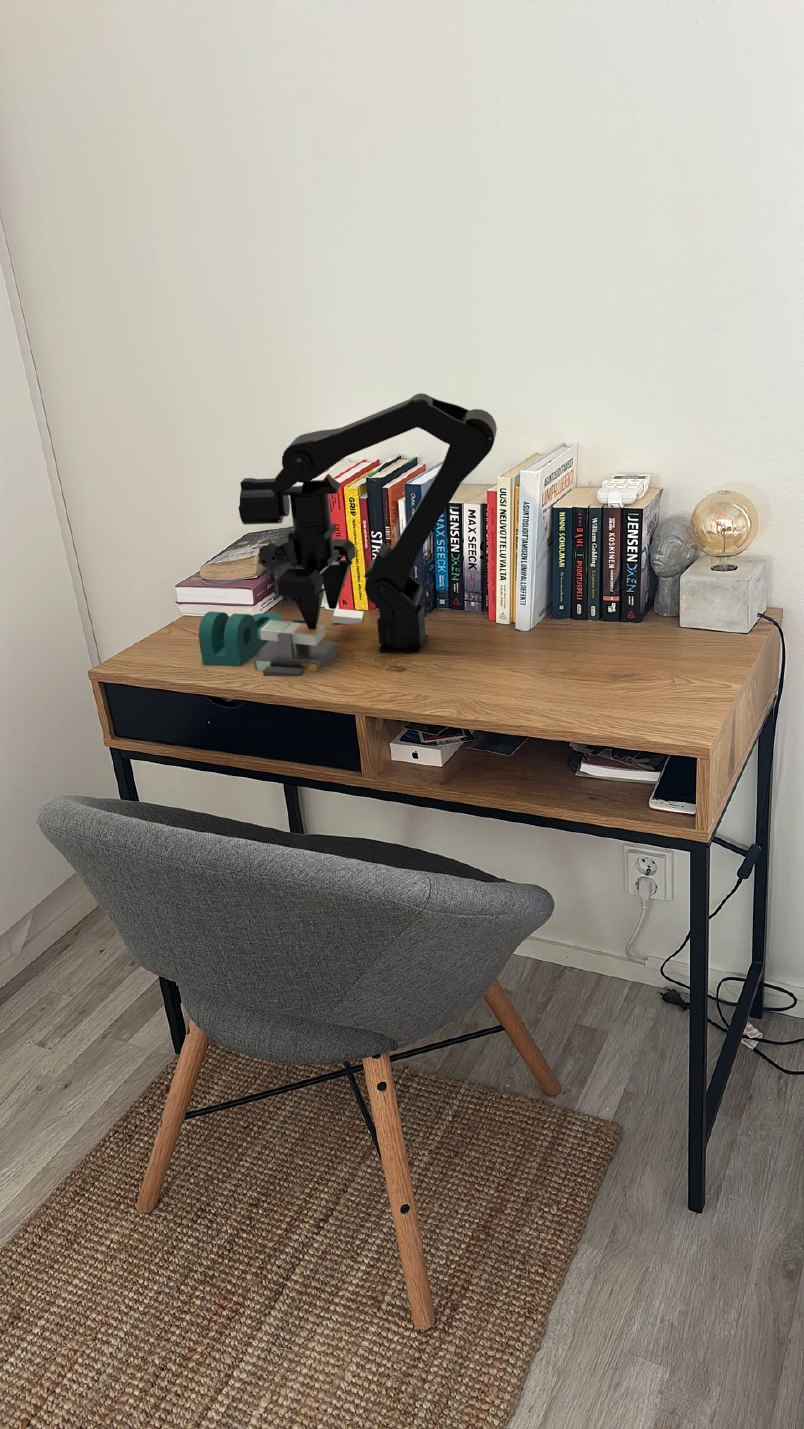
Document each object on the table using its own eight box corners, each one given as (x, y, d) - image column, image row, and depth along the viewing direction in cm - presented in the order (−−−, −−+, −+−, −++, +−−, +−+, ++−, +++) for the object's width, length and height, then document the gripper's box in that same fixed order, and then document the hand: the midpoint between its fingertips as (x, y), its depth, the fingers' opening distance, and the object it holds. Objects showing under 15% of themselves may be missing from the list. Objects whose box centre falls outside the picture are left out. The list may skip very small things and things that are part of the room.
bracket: (241, 670, 181) (234, 624, 177) (203, 667, 183) (195, 621, 179) (290, 626, 196) (285, 583, 192) (255, 623, 198) (249, 580, 194)
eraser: (362, 618, 193) (363, 611, 196) (333, 615, 193) (335, 608, 196) (361, 625, 193) (363, 618, 196) (332, 622, 193) (334, 615, 196)
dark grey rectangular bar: (305, 679, 176) (303, 668, 175) (300, 684, 174) (299, 673, 173) (268, 676, 177) (267, 666, 177) (264, 681, 176) (262, 671, 175)
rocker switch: (326, 634, 178) (325, 624, 178) (314, 646, 174) (314, 636, 174) (272, 628, 181) (271, 618, 180) (259, 640, 177) (259, 629, 176)
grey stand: (337, 659, 181) (333, 619, 178) (321, 679, 175) (316, 638, 172) (273, 655, 184) (268, 616, 181) (255, 674, 178) (249, 634, 175)
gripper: (286, 503, 183) (297, 595, 190) (236, 540, 168) (251, 639, 174) (352, 504, 180) (361, 598, 187) (308, 542, 164) (319, 643, 171)
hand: (322, 618), depth 180 cm, fingers open, 8 cm apart
